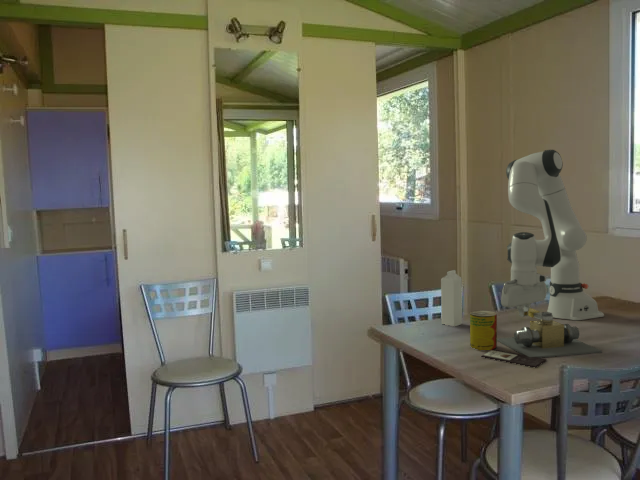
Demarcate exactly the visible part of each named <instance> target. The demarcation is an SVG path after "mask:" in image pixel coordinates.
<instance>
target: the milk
mask: <svg viewBox="0 0 640 480" xmlns="http://www.w3.org/2000/svg"><path fill="white" fill-rule="evenodd" d="M440 292H441V293H440V294H441V296H440V297H441V300H440V301H441V302H440V303H441V305H440V306H441V309H440V310H441V325H442V324H445V325H444V326H448V325H450V326H449V327H453V326H454V327H458V326H459V325H463V278H462V277H461V276H460V275H459V274H457V271H456V269H452V270H449V271H447V272H446V275H445V276H443V277H442V278H441V279H440Z"/></svg>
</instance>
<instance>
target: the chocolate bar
mask: <svg viewBox="0 0 640 480" xmlns="http://www.w3.org/2000/svg"><path fill="white" fill-rule="evenodd" d="M480 356H481V357H485V358H484V359H486V358H490V359H489V360H491V359H495V360H494V361H497V360H500V361H499V362H502V361H506V362H505V363H507V362H510V363H509V364H512V363H516V364H515V365H517V364H520V365H519V366H522V365H525V366H524V367H528V366H530V367H529V368H533V367H535V368H534V369H536V368H538V367H539V366H541V365H542V364H544V363H546V362H547V361H548V360H547V359H546V358H538V357H528V356H526V355H522V354H520V353H515V352H512V351H511V352H510V351H505V350H500V349H499V350H498V349H493V350H490V351H488V352H486V353H484V354H482V355H480ZM546 360H547V361H546ZM543 362H544V363H543ZM541 363H542V364H541ZM540 364H541V365H540ZM537 366H538V367H537Z"/></svg>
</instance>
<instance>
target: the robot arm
mask: <svg viewBox="0 0 640 480" xmlns="http://www.w3.org/2000/svg"><path fill="white" fill-rule="evenodd" d="M563 164H564V162H563V158H562V156H561V154H560V153H559V152H558V151H557V150H555V149H546V150H543V151H538V152H534V153H531V154H528V155H526V156H523V157H521V158H518V159H515V160H512V161H511V162H509V163H508V165H506V166H507V167H506V169H505V173H506V178H507V180H508V181H507V182H508V183H507V185H508V186H507V194H508V195H507V196H508V202H509V204H510V205H511V207H513V208H514V209H515V210H517V211H519V212H520V213H523V214H527V215H530V216H532V217H534V218H537V219H538V220H539V221H540V223H541V227H542V231H543V236H544V239H536V236H535V234H533V233H531V232H527V231H526V232H525V231H522V232H520V231H519V232H515V233H514V234H513V235H512V237H511V238H512V239H511V242H510V243H509V244H508V245H507V246H506V249H507V258H506V259H507V261H508V262H509V263H510V264H511V267H510V280H507V281H506V282H505V283H504V284H503V285H502V286H503V288H502V291H501V298H500V300H501V301H500V304H501V306H502V307H504V308H508V309H511V308H515V307H516V309H517V310H518V316H519V317H520V318H524V317H529V316H528V311H529V309H530V308H531V305H532V304H533V303H539V302H543V301H545V299H546V297H547V285H546V282H547V275H545V274H541V273H538V268H537V267H545V268H550V281H549V290H548V291H549V301H548V302H549V303H548V305H547V306H548V307H547V310H546V312H550V313H552V315H553V319H554V318H556V319H563V320H571V321H572V320H573V321H581V320H582V321H585V320H588V319H589V320H590V319H598V318H602V317H603V318H604V317H605V314H604V312H602V311H599V308H598V307H599V306H598V302H597V301H596V300H595V299H594V298H593V297H591V296H590V295H589V294H588V293H586V292H585V291H584V289H585V290H587V289H588V288H589V284H587V283H585V282H583V283H582V282H580V261H579V260H578V256H577V251H578V250H581V249H583V248H584V246H585V245H586V244H587V240H588V239H587V238H588V237H587V234H586V231H585V230H584V229H583V227H582V225H581V223H580V221H579V219H578V217H577V215H576V214H575V211H574V210H573V207H572V205H571V201H570V199H569V195H568V192H567V189H566V186H565V183H564V181H563V179H562V177H561V174H560V173H561V171H562V170H563Z"/></svg>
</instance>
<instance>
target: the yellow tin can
mask: <svg viewBox="0 0 640 480" xmlns="http://www.w3.org/2000/svg"><path fill="white" fill-rule="evenodd" d="M469 314H470V315H469V318H470V319H469V327H470V328H469V335H470V336H469V342H470V343H469V346H471V347H472V348H475V349H478V350H477V351H481V350H490V351H491V350H493V349H495V350H497V348H498V341H497V338H498V313H497V312H495V311H492V310H483V309H482V310H473V311H470V312H469ZM471 347H470V348H471ZM472 348H471V349H472ZM475 349H474V350H475Z"/></svg>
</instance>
